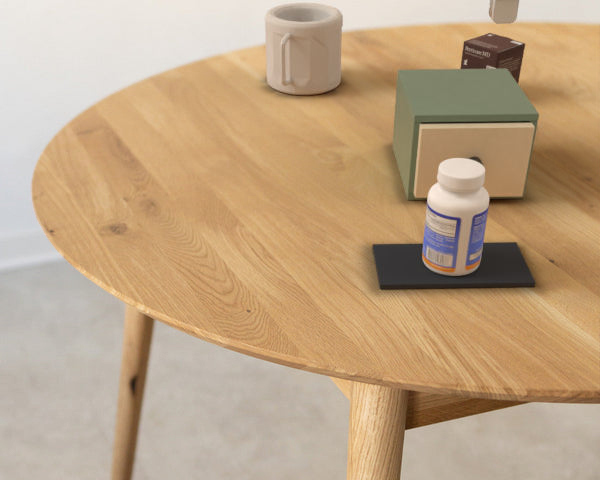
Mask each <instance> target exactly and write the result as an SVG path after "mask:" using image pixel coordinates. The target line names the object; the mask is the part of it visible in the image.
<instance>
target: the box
mask: <svg viewBox="0 0 600 480" xmlns="http://www.w3.org/2000/svg"><path fill="white" fill-rule="evenodd" d="M525 48H526V43H525V42H522V41H518V40H515V39H513V38H511V37H508V36H504V35H499V34H496V33H493V32H488V33H485V34H483V35H479V36H476V37H473V38H470V39H467V40H464V41H463V47H462V54H461V60H460V61H461V62H460V68H459V69H508V71H509V72H510V74H511V75H512V76H513V78H514V79H515V81H516V82H517V83H518V84H519V82H520V81H519V80H520V76H521V70H522V65H523V59H524V55H525Z"/></svg>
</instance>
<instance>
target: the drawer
mask: <svg viewBox="0 0 600 480" xmlns="http://www.w3.org/2000/svg"><path fill="white" fill-rule="evenodd" d="M421 123H422V124H420V127H419V138H418V149H417V160H416V171H415V182H414V196H415V198H428V193H429V190H430V189H431V187H432V186H433V185H434V184H436V183H438V180H437V175H438V169H439V165H440V163H441V162H443V161H445V160H447V159H452V158H466V159H471V160H474V161H477V162H479V163H480V164H482V165H483V166H484V168H485V179H484V184H483V187H484V188H485V189H486V190H487V192H488V194H489V197H516V196H523V190H524V185H525V179H526V174H527V168H528V163H529V157H530V152H531V146H532V141H533V135H534V130H535V127H534V125H533V124H532V123H521V121H492V122H421Z"/></svg>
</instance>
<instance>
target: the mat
mask: <svg viewBox="0 0 600 480" xmlns="http://www.w3.org/2000/svg"><path fill="white" fill-rule="evenodd" d="M371 246H372V253H373V259H374V265H375V271H376V276H377V281H378V286H379V289H380V290H406V289H407V290H410V289H469V288H470V289H473V288H476V289H477V288H478V289H479V288H524V287H525V288H535V287H536V280H535V278H534V276H533V273H532V272H531V270H530V268H529V266H528V264H527V261H526V259H525V257H524V255H523V253H522V251H521V249H520V246H519V244H518V242H516V241H507V242H504V241H503V242H502V241H501V242H498V241H497V242H483V249H482V255H481V261H480V264H479V266H478V268H477V269H476V270H475V271H474V272H472V273H470V274H467V275H462V276H447V275H442V274H439V273H436V272H433V271H432V270H430V269H429V268H427V267H426V265H425V264H424V262H423V258H422V251H423V243H380V244H379V243H373V244H372V245H371Z"/></svg>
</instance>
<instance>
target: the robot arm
mask: <svg viewBox="0 0 600 480" xmlns="http://www.w3.org/2000/svg"><path fill="white" fill-rule="evenodd" d="M519 6H520V0H489V8H488V15H489V17H490V20H492V21H493V22H494V23H495V24H496V25H501V24H503V25H508V24H513V23H514V22H516V20H517V18H518V11H519Z"/></svg>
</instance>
